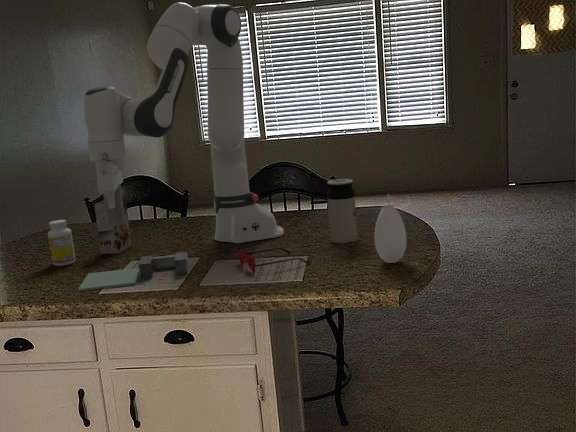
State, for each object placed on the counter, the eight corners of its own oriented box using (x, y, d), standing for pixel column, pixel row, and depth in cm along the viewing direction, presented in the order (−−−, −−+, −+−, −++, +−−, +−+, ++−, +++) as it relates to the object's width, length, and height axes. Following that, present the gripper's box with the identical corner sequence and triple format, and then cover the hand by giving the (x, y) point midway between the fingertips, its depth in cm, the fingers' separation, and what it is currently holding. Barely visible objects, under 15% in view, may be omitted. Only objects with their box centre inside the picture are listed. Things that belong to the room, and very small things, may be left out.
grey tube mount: (188, 263, 171) (186, 249, 170) (187, 273, 162) (186, 259, 161) (144, 268, 170) (142, 254, 169) (140, 279, 160) (138, 264, 159)
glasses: (235, 264, 168) (234, 246, 167) (291, 254, 174) (289, 237, 173) (252, 276, 156) (250, 257, 155) (311, 265, 162) (310, 247, 161)
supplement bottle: (56, 261, 186) (49, 220, 183) (78, 259, 186) (72, 218, 184) (49, 267, 179) (42, 224, 177) (72, 265, 180) (66, 222, 177)
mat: (140, 269, 169) (140, 267, 169) (135, 284, 156) (135, 282, 156) (88, 275, 168) (88, 273, 167) (78, 291, 154) (78, 289, 154)
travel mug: (326, 243, 181) (322, 183, 177) (335, 237, 188) (331, 179, 185) (353, 244, 178) (349, 182, 174) (360, 237, 185) (357, 178, 182)
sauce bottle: (388, 269, 151) (384, 197, 148) (370, 262, 158) (366, 194, 155) (413, 263, 155) (410, 192, 151) (394, 256, 162) (391, 189, 158)
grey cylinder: (128, 222, 160) (124, 183, 158) (118, 226, 156) (113, 186, 154) (113, 222, 162) (109, 183, 160) (103, 226, 157) (98, 186, 155)
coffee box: (119, 253, 189) (112, 202, 186) (100, 254, 191) (93, 203, 187) (132, 246, 198) (126, 196, 195) (114, 246, 199) (107, 197, 196)
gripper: (114, 154, 145) (121, 212, 148) (124, 147, 165) (130, 198, 168) (87, 157, 145) (94, 214, 147) (100, 149, 164) (106, 200, 167)
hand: (113, 205), depth 158 cm, fingers closed on grey cylinder, 4 cm apart
